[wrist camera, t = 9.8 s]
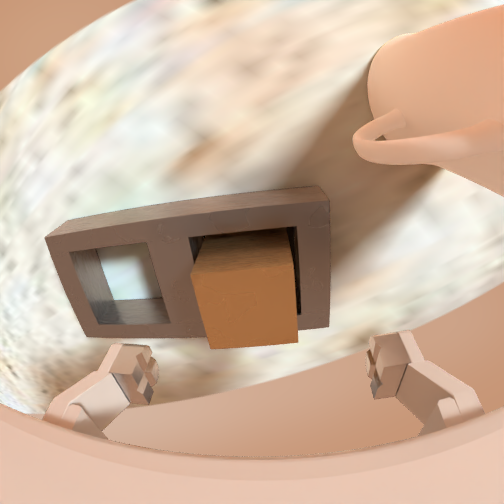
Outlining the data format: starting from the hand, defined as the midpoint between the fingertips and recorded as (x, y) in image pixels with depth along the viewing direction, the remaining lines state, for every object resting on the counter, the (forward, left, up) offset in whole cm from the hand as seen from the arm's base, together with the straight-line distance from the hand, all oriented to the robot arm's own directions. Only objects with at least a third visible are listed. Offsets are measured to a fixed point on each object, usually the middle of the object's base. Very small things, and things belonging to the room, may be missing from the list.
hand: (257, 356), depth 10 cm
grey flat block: (+5, +1, -10) cm, 11 cm away
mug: (-10, -8, -10) cm, 16 cm away
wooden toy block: (+1, +1, -10) cm, 10 cm away
